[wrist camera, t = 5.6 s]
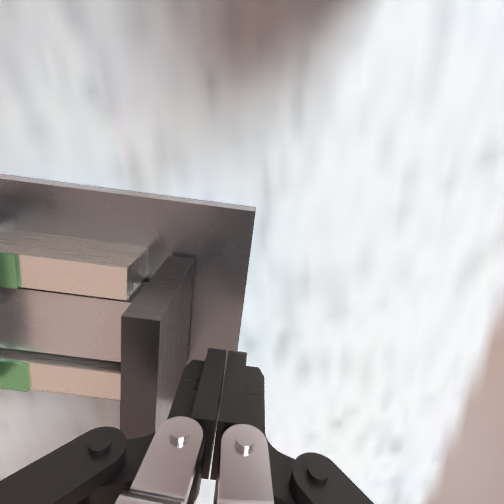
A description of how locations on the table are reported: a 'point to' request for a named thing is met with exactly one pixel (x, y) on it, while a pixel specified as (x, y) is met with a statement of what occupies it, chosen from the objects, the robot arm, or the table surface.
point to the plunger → (114, 336)
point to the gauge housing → (117, 266)
